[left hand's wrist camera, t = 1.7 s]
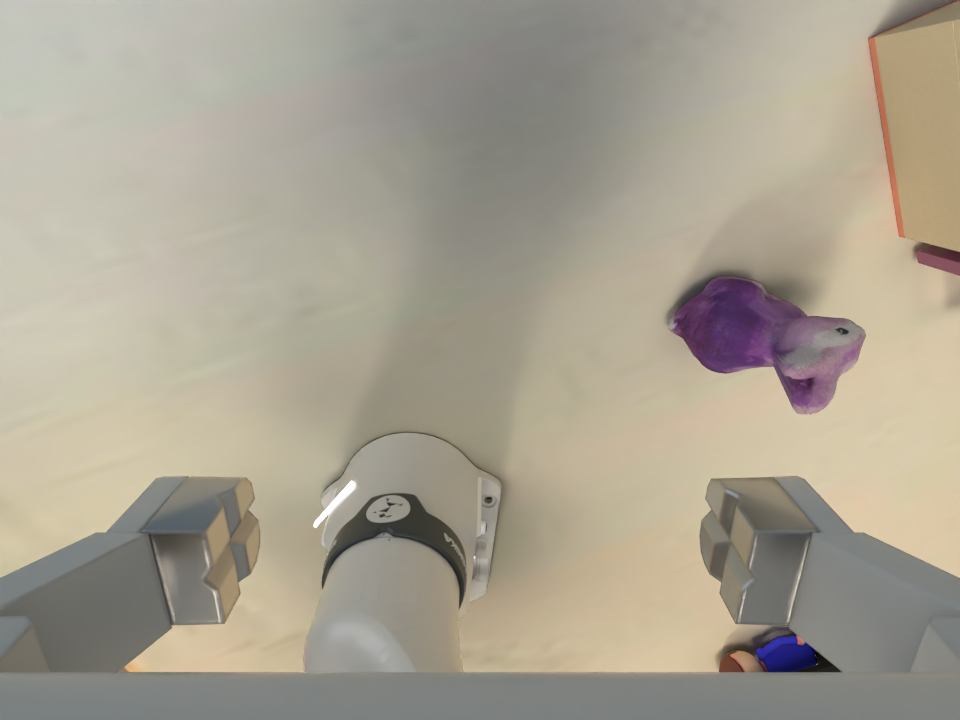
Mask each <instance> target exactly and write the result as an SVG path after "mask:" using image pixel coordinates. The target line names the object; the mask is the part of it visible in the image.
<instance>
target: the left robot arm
mask: <svg viewBox="0 0 960 720" xmlns="http://www.w3.org/2000/svg"><path fill="white" fill-rule="evenodd" d="M500 496H501V483H500V481H499V480H498V479H497V478H496V477H494V476H492V475H490V474H488V473H486V472H484V471H482V470H480V469H478V468H476V467H475V466H474V465H473V464H472V463H471V462H470V461H469V460H468V459H467V458H466V457H465V456H464V455H463V454H462V453H461V452H460V451H459V450H458V449H456V448H455V447H454V446H452V445H451V444H449V443H447V442H445V441H443V440H441V439H439V438H436V437H433V436H429V435H425V434H419V433H397V434H392V435H387V436H384V437H381V438H379V439H376V440H374V441H372V442H371V443H369V444H367V445H366V446H364V447H363V448H362V449H361V450H360V451H359V452H357V454H356V455H355V456H354V457H353V458H352V460H351V461H350V463H349V464H348V466H347V468H346V470H345V472H344V474H343V475H342V477H341V478H340V479H339V480H337V481H336V482H334V483H333V484H332V485H330V486H329V487H328V488H327V489H326V490H325V491H324V492H323V494H322V498H321V505H322V507H323V510H324V512H323V513H322V514H321V516H320V517H319V518H318V519H317V520H316V521H315V523H314V525H313V526H314V527H315V528H316V527H317V526H318V525H319V523H320V522H321V521H322V520H323V519H324V518H325V517H326V516H327V520H326V524H325V527H324V531H323V535H322V541H321V542H322V546H323V547H325V549H326V552H327V557H326V560H325V564H324V571H323V576H322V593H321V596H320V599H319V602H318V605H317V608H316V610H315V613H314V616H313V619H312V622H311V625H310V628H309V631H308V634H307V637H306V640H305V644H304V653H303V663H304V672H118V671H120V670H121V669H122V668H123V667H124V666H126V665H127V664H128V663H129V662H131V661H132V660H133V659H134V658H136V657H137V656H138V655H139V654H140V653H142V652H143V651H144V650H145V649H147V648H148V647H149V646H150V645H152V644H153V643H154V642H155V641H156V640H158V639H159V638H160V637H161V636H163V635H164V634H165V633H166V632H168V631H169V630H170V629H171V628H172V626H171V625H200V624H225V622H226V620H227V618H228V616H229V614H230V612H231V611H232V609H233V607H234V605H235V603H236V601H237V599H238V597H239V595H240V588H239V581H241V580H242V579H244V578H245V577H247V576H248V575H250V574H251V572H252V570H253V568H254V566H255V563H256V561H257V557H258V552H259V548H260V528H259V521H258V519H257V518H256V517H255V516H254V515H253V514H252V513H251V512H250V511H249V510H248V509H249V508H250V506H251V504H252V503H253V501H254V499H255V497H254V493H253V488H252V483H251V482H250V481H249V480H248V479H247V478H235V477H188V476H172V477H160V478H156V479H155V480H154V482H153V483H152V484H151V485H150V486H149V487H148V488H147V489H146V490H145V491H144V492H143V493H142V494H141V495H140V496H139V498H138V499H137V500H136V501H135V502H134V503H133V504H132V505H131V506H130V507H129V508H128V509H127V510H126V511H125V513H124V514H123V515H122V516H121V517H120V518H119V519H118V520H117V521H116V522H115V523H114V524H113V525H112V526H111V528H110V529H109V530H108V531H107V532H106V533H95V534H92V535H90V536H88V537H86V538H84V539H82V540H80V541H78V542H76V543H73V544H71V545H69V546H67V547H65V548H63V549H61V550H59V551H57V552H54V553H52V554H50V555H48V556H46V557H44V558H42V559H40V560H38V561H35V562H33V563H31V564H29V565H27V566H25V567H23V568H21V569H19V570H16V571H14V572H12V573H10V574H8V575H6V576H4V577H2V578H0V720H960V578H958V577H956V576H954V575H952V574H950V573H948V572H945V571H943V570H941V569H939V568H937V567H935V566H933V565H931V564H929V563H927V562H924V561H922V560H920V559H918V558H916V557H914V556H912V555H910V554H908V553H905V552H903V551H901V550H899V549H897V548H895V547H893V546H891V545H889V544H886V543H884V542H882V541H880V540H878V539H876V538H874V537H872V536H870V535H868V534H865V533H854V532H853V531H852V530H851V529H850V528H849V526H848V525H847V524H846V523H845V522H844V521H843V520H842V519H841V518H840V517H839V516H838V515H837V514H836V512H835V511H834V510H833V509H832V508H831V507H830V506H829V505H828V504H827V503H826V502H825V501H824V500H823V499H822V497H821V496H820V495H819V494H818V493H817V492H816V491H815V490H814V489H813V488H812V487H811V486H810V485H809V484H808V482H807V481H806V480H805V479H803V478H800V477H798V476H784V477H762V478H719V479H711V480H710V482H709V484H708V486H707V492H706V497H705V499H706V501H707V503H708V504H709V506H710V508H711V509H712V510H711V511H710V512H709V513H708V514H707V515H706V516H705V517H704V518H703V519H702V521H701V529H700V547H701V554H702V557H703V560H704V564H705V566H706V568H707V570H708V572H709V574H710V575H712V576H713V577H715V578H716V579H718V580H719V581H721V588H720V595H721V597H722V599H723V601H724V603H725V605H726V607H727V609H728V610H729V612H730V614H731V616H732V618H733V620H734V622H735V624H759V625H789V626H788V628H789V629H790V630H792V631H793V632H794V633H795V634H796V635H798V636H799V637H800V638H801V639H803V640H804V641H805V642H806V643H807V644H809V645H810V646H811V647H812V648H814V649H815V650H816V651H817V652H819V653H820V654H821V655H822V656H823V657H825V658H826V659H827V660H828V661H830V662H831V663H832V664H833V665H835V666H836V667H837V668H838V669H839V670H841V671H842V672H464V670H463V666H462V662H461V655H460V641H459V618H461V617H462V616H464V615H465V614H466V613H467V612H468V608H469V602H472V601H474V600H476V599H478V598H480V597H481V596H483V595H484V594H485V593H486V590H487V585H488V581H489V572H490V565H491V558H492V551H493V544H494V537H495V530H496V523H497V516H498V509H499V503H500ZM486 497H491V499H485V498H486Z"/></svg>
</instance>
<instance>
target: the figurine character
mask: <svg viewBox="0 0 960 720" xmlns="http://www.w3.org/2000/svg"><path fill="white" fill-rule="evenodd" d="M756 654H757V656H758V659H759V661H760V662H759V661H758V660H757V659H756V658H755V657H754V656H753V655H751V654H749V653H747V652H744V651H732V652H729V653H727V654H726V655H725V656H724V657H723V659H722V660H721V663H720V667H719V672H842V671H841V670H839V669H838V668H837V667H836V666H835V665H833V664H832V663H831V662H830V661H828V660H827V659H826V658H825V657H823V656H822V655H821V654H820V653H819V652H817V651H816V650H815V649H814V648H812V647H811V646H810V645H809V644H807V643H806V642H805V641H804V640H803V639H801V638H800V637H799V636H798V635H797V636H789V637H776V638H775V639H774V640H773V641H771V642H770V643H769V644H767V645H766V646H765V647H764V648H758V649H757V650H756ZM815 655H816V657H815ZM817 663H818V665H816V664H817ZM814 665H815V666H814Z"/></svg>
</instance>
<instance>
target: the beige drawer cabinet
mask: <svg viewBox="0 0 960 720" xmlns="http://www.w3.org/2000/svg"><path fill="white" fill-rule="evenodd" d="M868 40H869V46H870V53H871V59H872V66H873V72H874V78H875V85H876V91H877V97H878V104H879V110H880V117H881V123H882V129H883V136H884V142H885V149H886V155H887V161H888V168H889V174H890V181H891V187H892V193H893V200H894V206H895V213H896V219H897V225H898V232H899V236H900V237H903V238H909V239H912V240H916V241H920V242H924V243H928V244H931V245H935V246H939V247H943V248H946V249H950V250H954V251H958V252H960V0H957V1H954V2H952V3H950V4H947V5H945V6H943V7H940V8H938V9H936V10H933V11H931V12H929V13H927V14H924V15H922V16H920V17H917V18H915V19H913V20H910V21H908V22H906V23H904V24H901V25H899V26H897V27H894V28H892V29H890V30H887V31H885V32H883V33H881V34H878V35H876V36H874V37H871V38H869V39H868Z"/></svg>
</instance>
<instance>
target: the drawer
mask: <svg viewBox="0 0 960 720" xmlns="http://www.w3.org/2000/svg"><path fill="white" fill-rule="evenodd" d="M916 252H917V259H918V263H921V264H924V265H927V266H930V267H934V268H937V269H940V270H943V271H946V272H950V273H953V274H956V275H959V276H960V252H958V251H954V250H950V249H946V248H943V247H939V246H935V245H930V246H927V247H924V248H922V249H919V250H917V251H916Z"/></svg>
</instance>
